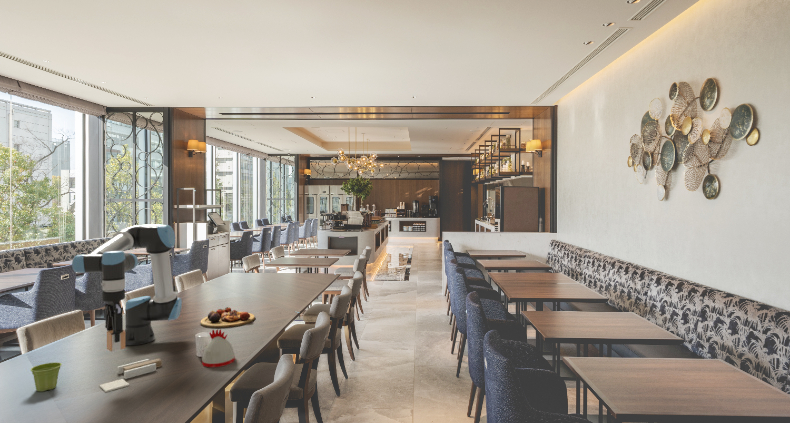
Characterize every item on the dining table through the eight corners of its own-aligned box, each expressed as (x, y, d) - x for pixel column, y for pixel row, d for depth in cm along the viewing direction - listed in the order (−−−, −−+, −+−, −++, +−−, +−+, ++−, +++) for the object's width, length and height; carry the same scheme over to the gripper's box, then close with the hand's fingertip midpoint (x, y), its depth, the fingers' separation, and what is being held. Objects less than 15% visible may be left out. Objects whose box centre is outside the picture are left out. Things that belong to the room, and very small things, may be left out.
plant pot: (42, 383, 169) (42, 362, 169) (67, 383, 170) (67, 361, 170) (24, 394, 160) (24, 371, 160) (50, 393, 161) (50, 370, 161)
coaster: (99, 386, 167) (99, 385, 167) (122, 380, 173) (122, 378, 173) (105, 392, 161) (105, 390, 161) (129, 385, 167) (129, 384, 167)
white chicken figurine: (211, 356, 201) (211, 325, 201) (239, 356, 200) (239, 325, 200) (196, 367, 187) (196, 333, 187) (226, 367, 186) (226, 334, 186)
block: (106, 348, 167) (106, 331, 167) (121, 345, 171) (121, 328, 171) (110, 351, 164) (110, 333, 164) (125, 348, 168) (125, 330, 168)
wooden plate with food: (265, 319, 267) (265, 307, 267) (221, 332, 241) (220, 318, 240) (234, 313, 285) (234, 300, 285) (189, 324, 258) (189, 310, 258)
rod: (123, 374, 180) (123, 367, 180) (158, 365, 190) (158, 358, 190) (125, 376, 178) (125, 369, 178) (161, 366, 188) (161, 360, 188)
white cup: (206, 358, 198) (206, 337, 198) (191, 357, 200) (191, 336, 200) (216, 352, 206) (216, 332, 206) (202, 351, 207) (202, 331, 207)
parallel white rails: (117, 373, 180) (117, 366, 180) (148, 365, 189) (148, 358, 189) (124, 379, 174) (124, 371, 174) (156, 370, 183) (155, 363, 183)
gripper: (95, 288, 170) (96, 345, 170) (110, 294, 158) (110, 356, 158) (117, 286, 175) (117, 341, 175) (132, 291, 164) (132, 350, 164)
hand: (114, 348), depth 167 cm, fingers closed on block, 5 cm apart
